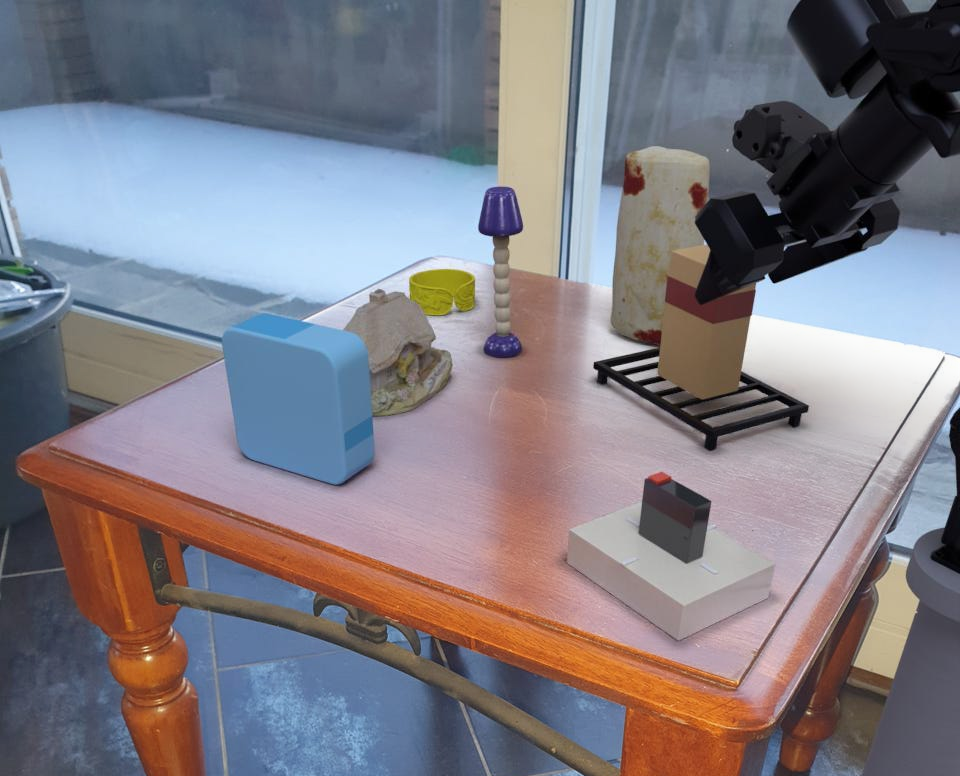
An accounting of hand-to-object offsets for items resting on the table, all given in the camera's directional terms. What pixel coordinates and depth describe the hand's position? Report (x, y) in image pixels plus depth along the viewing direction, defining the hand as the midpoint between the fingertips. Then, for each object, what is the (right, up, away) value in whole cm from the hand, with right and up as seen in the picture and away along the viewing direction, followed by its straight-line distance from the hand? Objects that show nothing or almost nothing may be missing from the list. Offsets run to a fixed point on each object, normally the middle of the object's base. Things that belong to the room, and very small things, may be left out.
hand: (735, 289), depth 84 cm
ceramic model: (-31, -4, +18) cm, 36 cm away
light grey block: (-8, -25, -10) cm, 28 cm away
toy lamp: (-19, +2, +26) cm, 33 cm away
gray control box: (-8, -23, -12) cm, 27 cm away
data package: (-37, -14, +5) cm, 40 cm away
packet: (0, -4, +14) cm, 14 cm away
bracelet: (-26, +11, +38) cm, 48 cm away
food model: (-2, +4, +29) cm, 30 cm away
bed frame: (0, -6, +15) cm, 16 cm away
